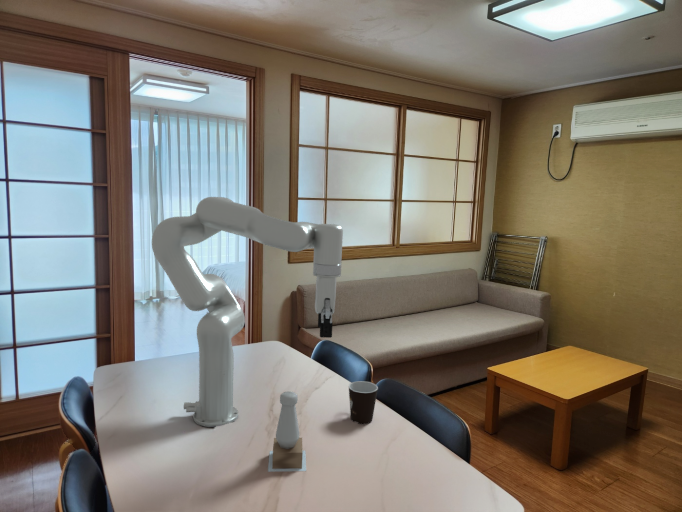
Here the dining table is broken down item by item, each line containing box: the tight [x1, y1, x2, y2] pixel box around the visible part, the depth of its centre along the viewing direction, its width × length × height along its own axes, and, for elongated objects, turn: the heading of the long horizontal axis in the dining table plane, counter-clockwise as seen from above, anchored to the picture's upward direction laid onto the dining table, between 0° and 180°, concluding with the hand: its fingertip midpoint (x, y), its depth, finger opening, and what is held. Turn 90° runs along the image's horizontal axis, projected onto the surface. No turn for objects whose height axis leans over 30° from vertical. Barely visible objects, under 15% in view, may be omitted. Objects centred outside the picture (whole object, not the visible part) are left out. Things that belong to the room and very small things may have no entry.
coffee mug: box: [348, 380, 379, 425], centre depth 140 cm, size 12×9×10 cm
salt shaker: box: [275, 391, 300, 449], centre depth 113 cm, size 6×6×13 cm
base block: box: [272, 437, 304, 469], centre depth 114 cm, size 7×7×4 cm
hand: (324, 331), depth 128 cm, fingers open, 9 cm apart
